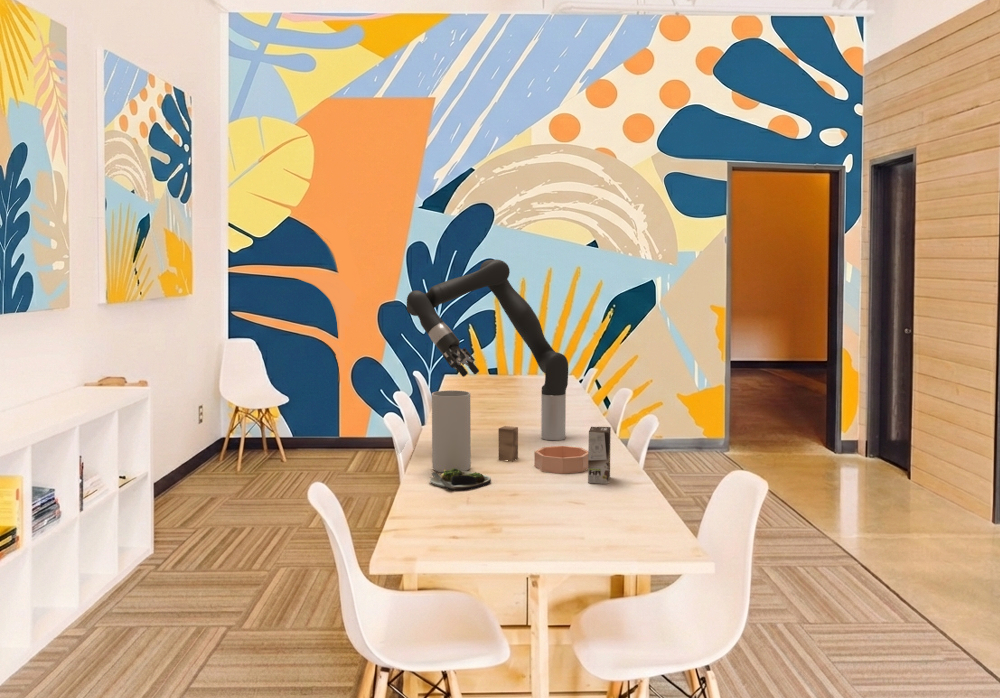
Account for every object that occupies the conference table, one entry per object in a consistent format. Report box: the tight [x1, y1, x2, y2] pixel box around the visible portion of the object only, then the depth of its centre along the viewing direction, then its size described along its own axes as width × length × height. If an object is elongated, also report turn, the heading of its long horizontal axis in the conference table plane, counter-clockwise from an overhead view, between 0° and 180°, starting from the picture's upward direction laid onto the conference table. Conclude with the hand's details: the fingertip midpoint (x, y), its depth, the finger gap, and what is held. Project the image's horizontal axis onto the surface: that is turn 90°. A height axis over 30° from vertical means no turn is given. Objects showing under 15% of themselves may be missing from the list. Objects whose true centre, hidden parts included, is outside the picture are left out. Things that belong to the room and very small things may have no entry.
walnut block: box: [498, 425, 519, 462], centre depth 283 cm, size 5×5×11 cm
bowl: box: [533, 445, 588, 475], centre depth 273 cm, size 17×17×5 cm
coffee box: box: [587, 426, 612, 485], centre depth 256 cm, size 9×6×16 cm
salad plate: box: [429, 468, 492, 492], centre depth 254 cm, size 19×18×5 cm
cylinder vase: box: [431, 389, 472, 474], centre depth 269 cm, size 12×12×25 cm
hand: (471, 374), depth 287 cm, fingers open, 8 cm apart
